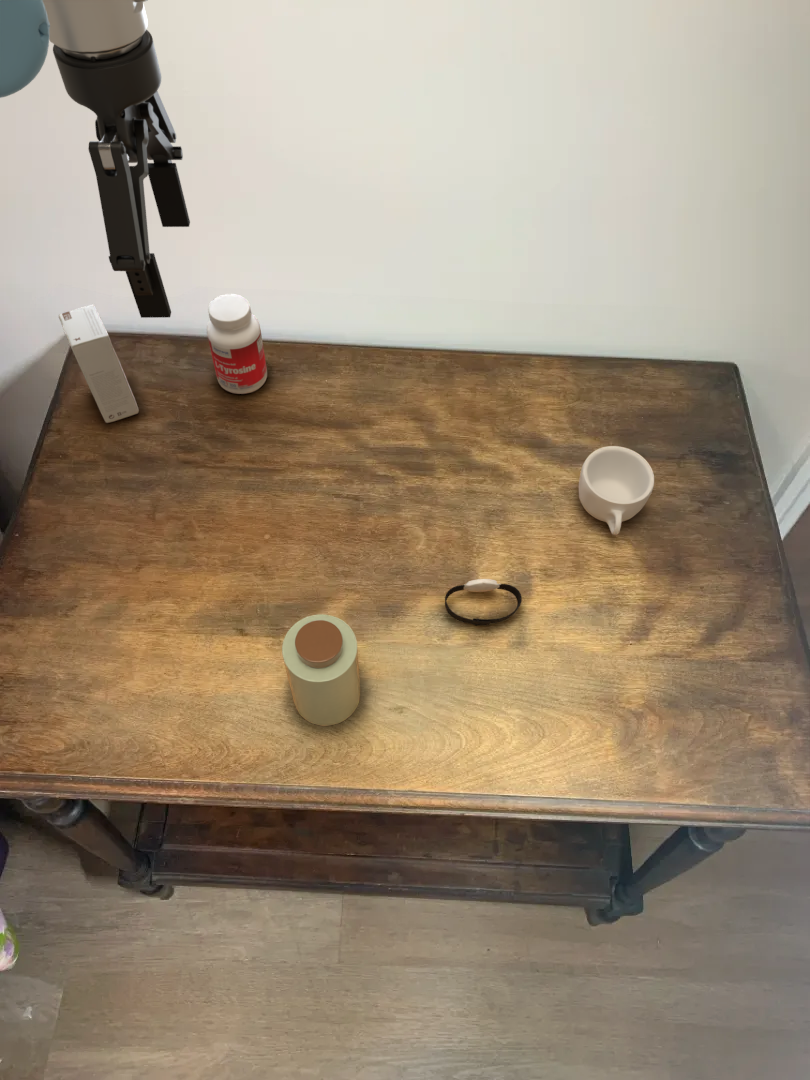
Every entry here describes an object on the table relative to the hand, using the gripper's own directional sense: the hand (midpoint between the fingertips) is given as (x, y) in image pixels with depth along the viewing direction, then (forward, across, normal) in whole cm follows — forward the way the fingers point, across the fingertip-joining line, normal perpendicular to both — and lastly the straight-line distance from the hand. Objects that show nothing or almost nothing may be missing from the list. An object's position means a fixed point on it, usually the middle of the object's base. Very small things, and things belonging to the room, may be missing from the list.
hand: (166, 268), depth 80 cm
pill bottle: (+21, +6, -4) cm, 22 cm away
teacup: (+22, -15, -46) cm, 53 cm away
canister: (+21, -36, -16) cm, 44 cm away
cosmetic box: (+21, +2, +11) cm, 24 cm away
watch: (+21, -27, -31) cm, 46 cm away
